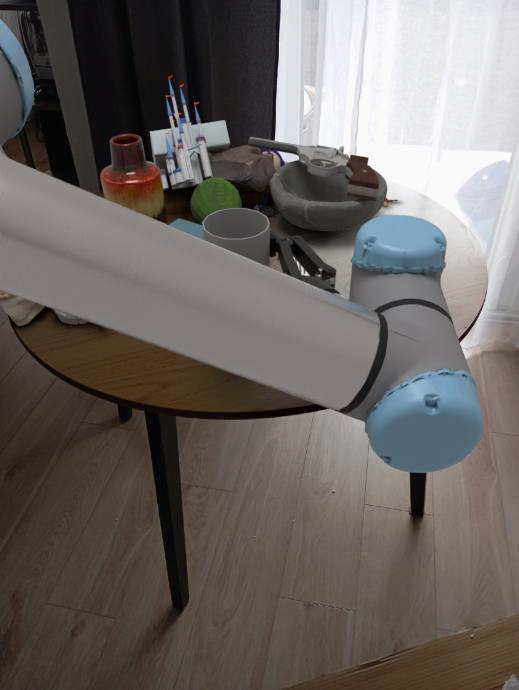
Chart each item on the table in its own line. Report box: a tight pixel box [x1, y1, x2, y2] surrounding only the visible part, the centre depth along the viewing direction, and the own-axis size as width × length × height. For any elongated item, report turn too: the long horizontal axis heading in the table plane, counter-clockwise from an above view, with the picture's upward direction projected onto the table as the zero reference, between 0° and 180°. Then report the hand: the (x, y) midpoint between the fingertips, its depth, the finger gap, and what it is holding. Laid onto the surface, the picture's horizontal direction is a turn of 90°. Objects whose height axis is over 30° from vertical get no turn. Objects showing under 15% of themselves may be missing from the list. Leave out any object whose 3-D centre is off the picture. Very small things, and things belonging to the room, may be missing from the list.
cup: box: [202, 207, 271, 268], centre depth 77 cm, size 8×8×10 cm
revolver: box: [247, 136, 379, 201], centre depth 114 cm, size 4×29×15 cm
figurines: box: [252, 193, 275, 217], centre depth 122 cm, size 10×5×4 cm, turn 160°
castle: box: [161, 75, 213, 191], centre depth 121 cm, size 7×25×23 cm
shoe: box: [0, 290, 46, 327], centre depth 102 cm, size 9×26×7 cm, turn 164°
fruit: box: [190, 178, 243, 226], centre depth 116 cm, size 15×10×10 cm, turn 10°
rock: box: [198, 144, 275, 194], centre depth 125 cm, size 21×16×10 cm
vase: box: [100, 133, 168, 225], centre depth 109 cm, size 11×11×20 cm
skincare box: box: [149, 119, 231, 175], centre depth 131 cm, size 21×5×16 cm
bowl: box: [270, 159, 388, 232], centre depth 118 cm, size 23×22×10 cm
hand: (219, 236), depth 80 cm, fingers closed on cup, 8 cm apart
